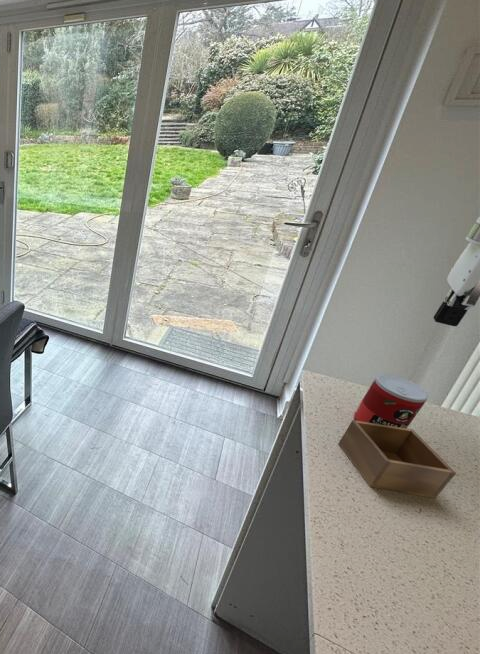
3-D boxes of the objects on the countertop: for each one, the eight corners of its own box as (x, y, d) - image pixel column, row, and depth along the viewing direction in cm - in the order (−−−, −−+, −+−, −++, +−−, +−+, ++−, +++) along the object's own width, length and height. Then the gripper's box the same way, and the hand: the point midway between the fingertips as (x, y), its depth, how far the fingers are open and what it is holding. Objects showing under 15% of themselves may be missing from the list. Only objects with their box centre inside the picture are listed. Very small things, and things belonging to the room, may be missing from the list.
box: (395, 453, 80) (412, 429, 77) (435, 498, 72) (456, 473, 69) (337, 443, 82) (352, 419, 79) (369, 486, 73) (387, 461, 70)
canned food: (365, 436, 84) (391, 395, 79) (344, 409, 91) (367, 370, 86) (409, 444, 82) (440, 403, 77) (385, 416, 89) (411, 377, 84)
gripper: (548, 254, 67) (482, 346, 75) (517, 231, 78) (461, 314, 86) (481, 243, 71) (425, 331, 79) (460, 223, 82) (412, 303, 90)
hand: (444, 322), depth 83 cm, fingers closed
